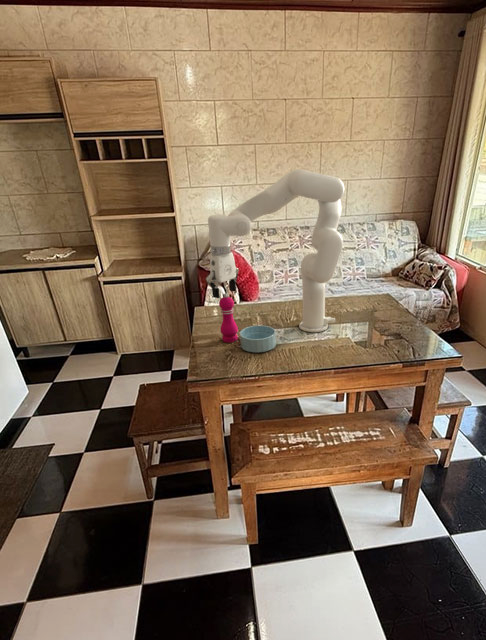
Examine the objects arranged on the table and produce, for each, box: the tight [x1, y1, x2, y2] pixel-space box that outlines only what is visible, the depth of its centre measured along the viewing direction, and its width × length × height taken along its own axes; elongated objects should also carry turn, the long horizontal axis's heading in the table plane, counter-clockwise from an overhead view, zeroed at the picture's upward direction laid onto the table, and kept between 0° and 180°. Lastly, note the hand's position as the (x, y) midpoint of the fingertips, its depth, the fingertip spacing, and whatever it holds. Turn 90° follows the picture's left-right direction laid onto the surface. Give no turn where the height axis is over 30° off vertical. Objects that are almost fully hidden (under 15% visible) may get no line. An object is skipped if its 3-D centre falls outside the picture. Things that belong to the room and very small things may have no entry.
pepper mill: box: [218, 293, 239, 344], centre depth 166 cm, size 7×7×20 cm
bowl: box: [239, 324, 277, 354], centre depth 163 cm, size 14×14×6 cm
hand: (224, 294), depth 161 cm, fingers open, 9 cm apart
